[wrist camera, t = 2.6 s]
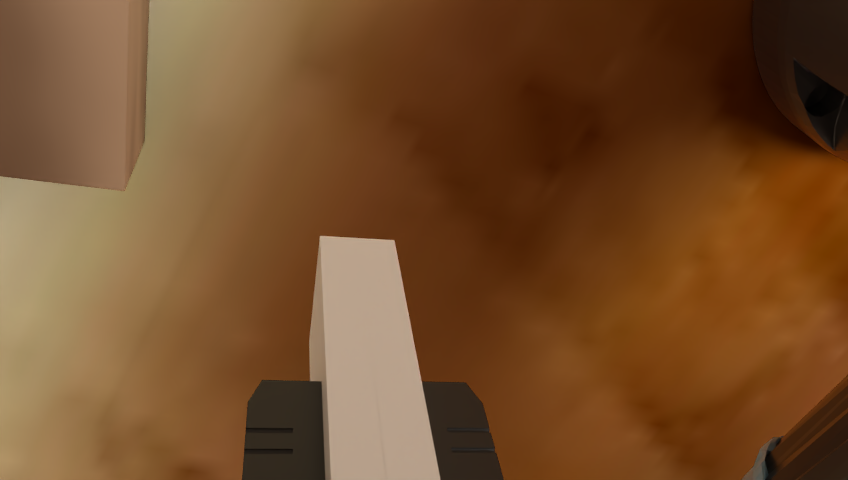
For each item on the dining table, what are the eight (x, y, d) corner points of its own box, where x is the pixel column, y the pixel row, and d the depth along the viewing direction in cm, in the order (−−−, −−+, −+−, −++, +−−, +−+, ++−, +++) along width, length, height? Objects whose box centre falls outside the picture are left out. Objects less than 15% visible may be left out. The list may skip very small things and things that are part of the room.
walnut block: (152, -58, 25) (129, -26, 21) (145, 137, 28) (124, 191, 25) (-91, -105, 23) (-157, -78, 20) (-66, 108, 27) (-118, 161, 23)
